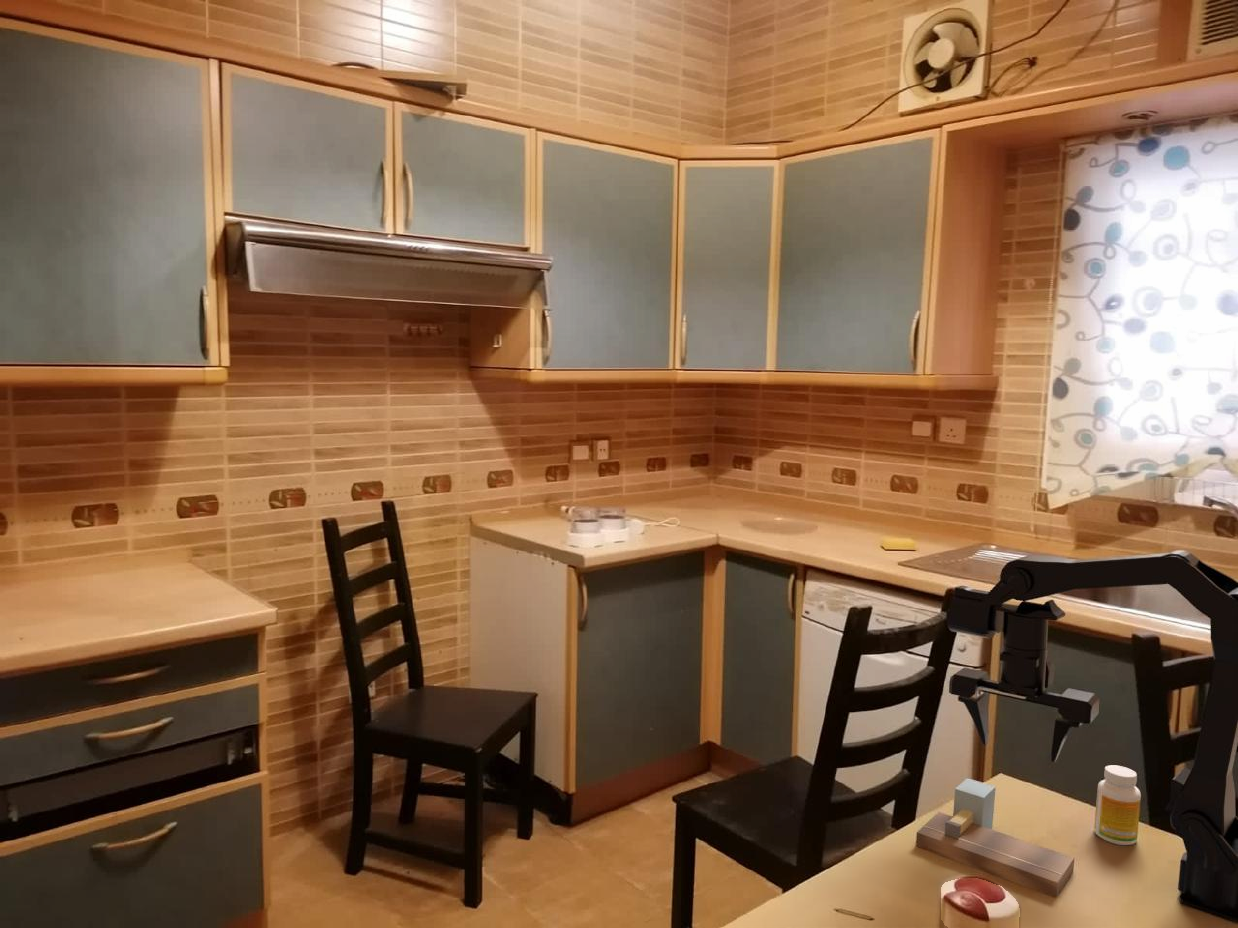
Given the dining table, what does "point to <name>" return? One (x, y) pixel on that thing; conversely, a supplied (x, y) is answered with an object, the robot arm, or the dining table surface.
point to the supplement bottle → (1118, 806)
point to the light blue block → (971, 807)
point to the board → (999, 855)
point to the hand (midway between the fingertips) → (1018, 752)
